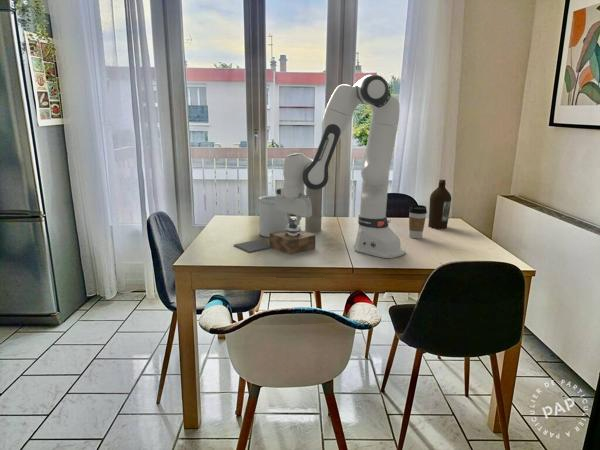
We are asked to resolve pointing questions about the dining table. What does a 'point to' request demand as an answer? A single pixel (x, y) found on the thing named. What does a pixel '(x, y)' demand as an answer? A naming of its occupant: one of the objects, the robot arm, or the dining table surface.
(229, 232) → the dining table surface
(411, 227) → the coffee cup
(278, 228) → the utensil holder
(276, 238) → the socket block
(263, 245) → the mat
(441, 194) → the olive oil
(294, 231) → the end cover
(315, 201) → the thermos bottle
